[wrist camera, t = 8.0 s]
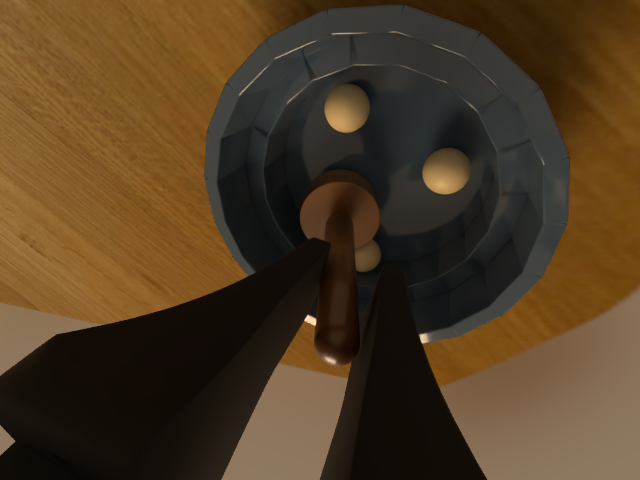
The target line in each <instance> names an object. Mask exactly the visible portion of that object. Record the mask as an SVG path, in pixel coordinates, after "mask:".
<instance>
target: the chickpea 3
mask: <svg viewBox="0 0 640 480" xmlns="http://www.w3.org/2000/svg"><path fill="white" fill-rule="evenodd" d="M422 174H423V180H424V182H425V184H426V185H427V187H428V188H429V189H431V190H432V191H434V192H436V193H439V194H451V193H454V192H456V191H458V190H460V189H461V188H463V187H464V186H465V184H466V183H467V182H468V180H469V178H470V175H471V164H470V161H469V159H468V157H467V156H466V155H465V154H464V153H463V152H461V151H460V150H457V149H454V148H443V149H440V150H437V151H436V152H434V153H433V154H431V155H430V156H429V157H428V158H427V160H426V162H425V164H424V166H423V172H422Z"/></svg>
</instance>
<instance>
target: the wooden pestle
mask: <svg viewBox="0 0 640 480" xmlns="http://www.w3.org/2000/svg"><path fill="white" fill-rule="evenodd" d="M300 224H301V227H302V230H303V232H304V234H305V235H306V237H307V238H308V239H310V238H313V237H315V238H318V239H321V240H324V241H326V242H329V243H331V247H330V251H329V255H328V259H327V263H326V266H325V269H324V271H323V273H322V276H321V279H320V287H319V297H318V307H317V317H316V327H315V337H314V346H315V350H316V352H317V354H318V356H319V357H320V358H321V359H322V360H323V361H324V362H325V363H327V364H329V365H332V366H343V365H346V364H348V363H350V362H351V361H352V360H353V359H354V358H355V357H356V355H357V354H358V352H359V348H360V327H359V310H358V293H357V276H356V259H355V250H357V249H359V248H361V247H363V246H365V245H366V244H367V243H368V242H369V241H370V240H371V239H372V238H373V237H374V236H375V234H376V232H377V230H378V228H379V224H380V210H379V206H378V201H377V197H376V193H375V190H374V188H373V187H372V185H371V184H370V182H369V181H368V180H367V179H366V178H364V177H363V176H362V175H360V174H358V173H356V172H353V171H349V170H332V171H328V172H325V173H323V174H321V175H319V176H318V177H317V178H315V179H314V180H313V181H312V182H311V183H310V185H309V186H308V188H307V190H306V192H305V195H304V199H303V203H302V206H301V211H300Z"/></svg>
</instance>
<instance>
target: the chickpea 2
mask: <svg viewBox="0 0 640 480" xmlns="http://www.w3.org/2000/svg"><path fill="white" fill-rule="evenodd" d="M355 259H356V271H359V272H368V271H371V270H373V269H374V268H375V267H376V266H377V265H378V263H379V262H380V259H381V250H380V247H379V245H378V244H377V243H376V242H375V241H374V240H373V239H371V240H370V241H369V242H368V243H367V244H366V245H365V246H363V247H361V248H359V249H357V250H355Z"/></svg>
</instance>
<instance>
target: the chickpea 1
mask: <svg viewBox="0 0 640 480" xmlns="http://www.w3.org/2000/svg"><path fill="white" fill-rule="evenodd" d="M369 111H370V104H369V99H368V97H367V95H366V93H365V92H364V91H363V90H362V89H361V88H360V87H358V86H356V85H353V84H342V85H339V86H337V87H336V88H334V89H333V90H332V91H331V92H330V94H329V95H328V97H327V99H326V102H325V116H326V119H327V121H328V123H329V124H330V125H331V126H332V127H333V128H334V129H335V130H337V131H340V132H344V133H349V132H353V131H356V130H358V129H359V128H360V127H362V126H363V125H364V123H365V122H366V120H367V118H368V115H369Z"/></svg>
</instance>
